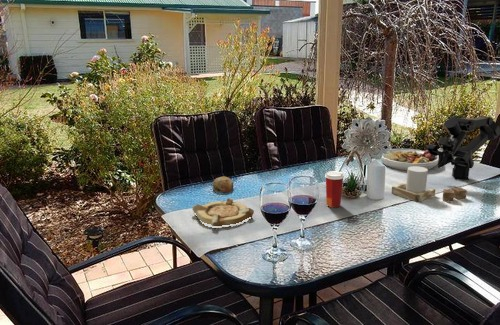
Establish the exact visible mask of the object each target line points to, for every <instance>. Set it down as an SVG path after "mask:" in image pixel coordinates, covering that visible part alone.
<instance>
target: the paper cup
mask: <svg viewBox="0 0 500 325" xmlns="http://www.w3.org/2000/svg"><path fill="white" fill-rule="evenodd" d="M324 177H325V194H326V195H325V197H326V198H325V199H326V206H327V205H328V206H329V208H331V207H337V208H339V206H340V207H341V201H342V193H343V192H342V190H343V183H344V178H345V175H344V174H343V172H341V171H336V170H331V171H327V172H326V173H325V174H324ZM328 206H327V207H328Z"/></svg>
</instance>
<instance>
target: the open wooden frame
mask: <svg viewBox="0 0 500 325" xmlns="http://www.w3.org/2000/svg"><path fill="white" fill-rule="evenodd" d="M391 194H393V195H396V196H399V197H402V198H405V199H408V200H411V201H414V202H417V203H418V202H421V201H424V200H427V199H429V198H430V199H431V198H433V197H435V196H436V188H430V189H426V191H425V192H422V193H419V194H416V193H413V192H410V191H407V190H406V182H403V183H400V184H396V185H394V186H391Z"/></svg>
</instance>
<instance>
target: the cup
mask: <svg viewBox="0 0 500 325" xmlns="http://www.w3.org/2000/svg"><path fill="white" fill-rule="evenodd" d="M428 171H429V169H426V168H424V167H418V166H412V167H408V170H406V172H407V173H406V181H405V183H406V190H407V191H410V192H413V193H416V194H419V193H422V192H425V191H427V181H428Z"/></svg>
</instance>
